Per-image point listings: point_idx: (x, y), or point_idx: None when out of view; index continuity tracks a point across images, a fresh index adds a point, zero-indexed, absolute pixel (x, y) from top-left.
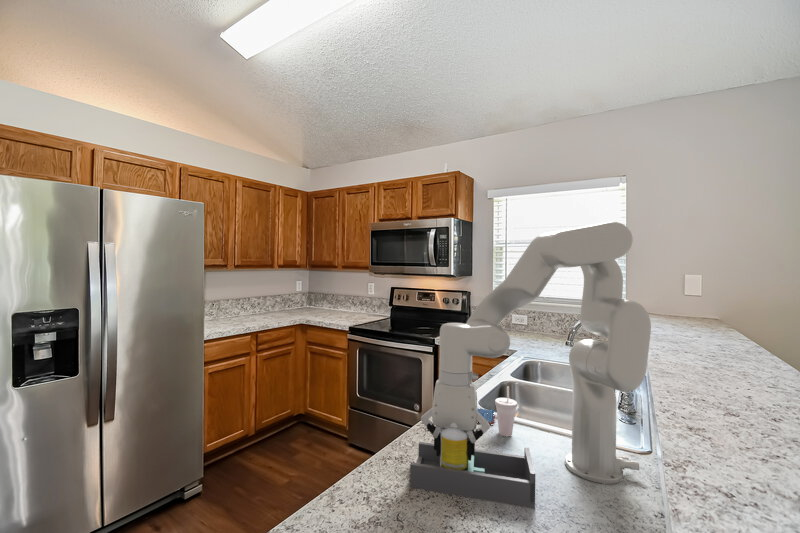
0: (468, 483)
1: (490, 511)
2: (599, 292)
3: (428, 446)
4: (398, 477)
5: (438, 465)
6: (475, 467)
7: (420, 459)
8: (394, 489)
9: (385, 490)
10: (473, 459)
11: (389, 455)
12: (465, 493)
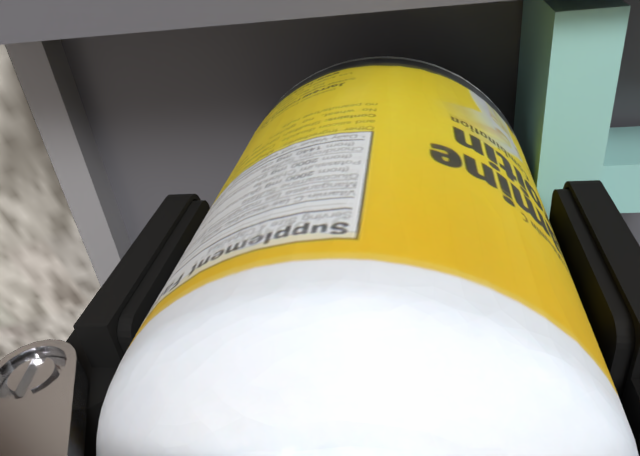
0: None
1: None
2: None
3: (18, 38)
4: (22, 222)
5: (218, 42)
6: (605, 168)
7: (39, 63)
8: (74, 323)
9: (40, 340)
10: (604, 121)
11: None
12: None
